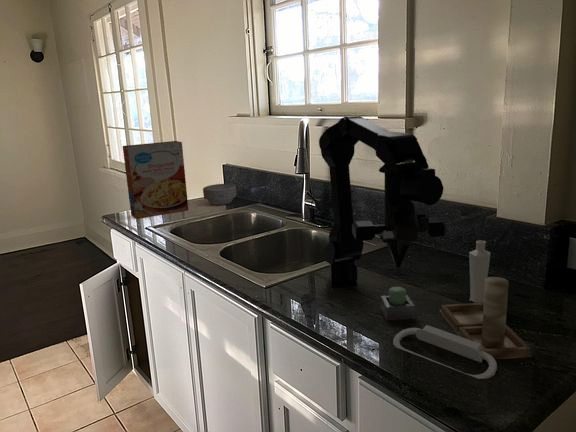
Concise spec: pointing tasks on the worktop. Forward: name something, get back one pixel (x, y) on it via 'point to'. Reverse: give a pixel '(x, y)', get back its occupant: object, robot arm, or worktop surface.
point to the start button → (397, 296)
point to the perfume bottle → (478, 271)
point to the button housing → (397, 309)
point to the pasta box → (155, 178)
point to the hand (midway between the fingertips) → (397, 266)
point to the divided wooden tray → (470, 327)
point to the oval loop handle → (450, 346)
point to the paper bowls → (219, 193)
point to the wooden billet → (494, 312)
